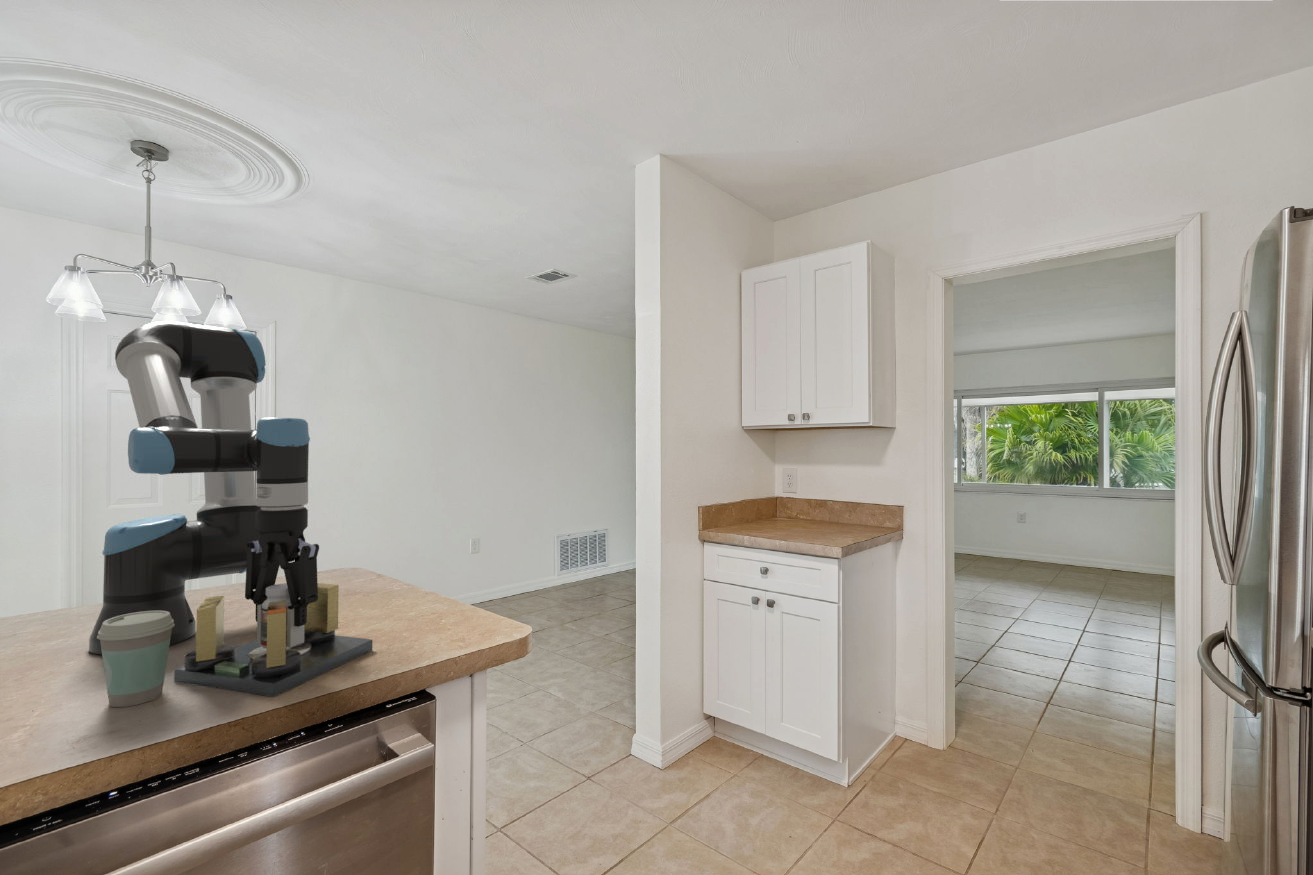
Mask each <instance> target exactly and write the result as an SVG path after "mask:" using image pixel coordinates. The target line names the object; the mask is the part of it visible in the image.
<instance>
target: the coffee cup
mask: <svg viewBox="0 0 1313 875" xmlns="http://www.w3.org/2000/svg"><path fill="white" fill-rule="evenodd" d="M173 622H174V620H173V619H172V617H171V615H170V612H168V611H143V612H136V613H130V614H125V615H120V616H116V617H113V618H110V619H108V620H106V621H104V622H103V623H102V626H101V629H100V630H99V631H98V636H97V638H98V639H100V643H101V650H102V654H101V655H102V656H101V657H102V664H103V671H104V678H105V683H106V684H105V685H106V690H107V691H106V692H107V697H108V698H107V700H108V705H109V706H110V707H112V708H126V707H132V706H133V707H134V706H137V705H141V704H142V705H143V704H144V703H148V702H150V701H153V700H155V699H157V698H158V697H160V696H161V695H162V693H163V688H164V682H165V681H164V680H165V675H166V670H167V662H168V657H169V649H170V645H169V644H170V638H171V631H172V628H173V627H174V625H175V624H174V623H173Z"/></svg>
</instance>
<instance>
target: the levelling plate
mask: <svg viewBox="0 0 1313 875" xmlns="http://www.w3.org/2000/svg"><path fill="white" fill-rule="evenodd" d="M234 647H235V646H234ZM288 650H290V651H298V652H300V668H299V669H298V670H297V671H295V672H293V673H291V674H288V675H285V676H281V677H276V678H269V679H258V678H254V677H252V661H253V660H254V659H255V658H257V657H259V656H262V655H264V654H267V649H266V648H263V647H262V646H261V644H258V643H257V639H255V640H252V641H249V642H247V643H244V644H241V645H237V646H236V647H235V661H234V662H228V661H224V662H221V663H218V664H216V665H215V670H210V671H204V672H188V671H186V670H185V664H184V665H182V666H179V667H176V668H174V674H173V676H174V678H173V682H175V683H181V684H189V685H194V686H200V687H206V688H214V689H221V690H226V691H232V692H238V693H243V694H251V695H257V696H263V697H265V696H266V697H271V698H275V697H277V696H279V695H282V694H283V693H285V692H287V691H290V690H291V689H294V688H295V687H297V686H300V685H302V684H304V683H306V682H309V681H310V680H313V679H314V678H315V679H316V678H317V677H319V676H322V675H323V674H326V673H328V672H331V671H332V670H334V669H337V668H338V667H340V666H342V665H344V664H347V663H349V662H351V661H352V660H355V659H357V658H359V657H361V656H364V655H366V654H368V653H371V652H372V651H373V639H371V638H364V637H363V638H361V637H355V636H354V637H353V636H346V635H337V634H335V638H334V639H333V640H331V641H329V642H326V643H322V644H318V645H311V643H309V642H303V643H301V644H298V645H296V646H293V647H291V648H290V647H286V651H288Z"/></svg>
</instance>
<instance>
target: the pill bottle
mask: <svg viewBox="0 0 1313 875" xmlns="http://www.w3.org/2000/svg"><path fill="white" fill-rule="evenodd" d="M266 596H267V600H265V601H264V602H263V604H262V616H261V646H262V647H263V648H266V649H267V609H268V606H269V602H276V601H284V600H287V604H286V647H287V608H288V606H291V601H290V596H289V592H288V587H287V582H286V583H285V582H284V583H278V584H275V585H272V586H269V587H267V588H266ZM299 599H300V598H299Z"/></svg>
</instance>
